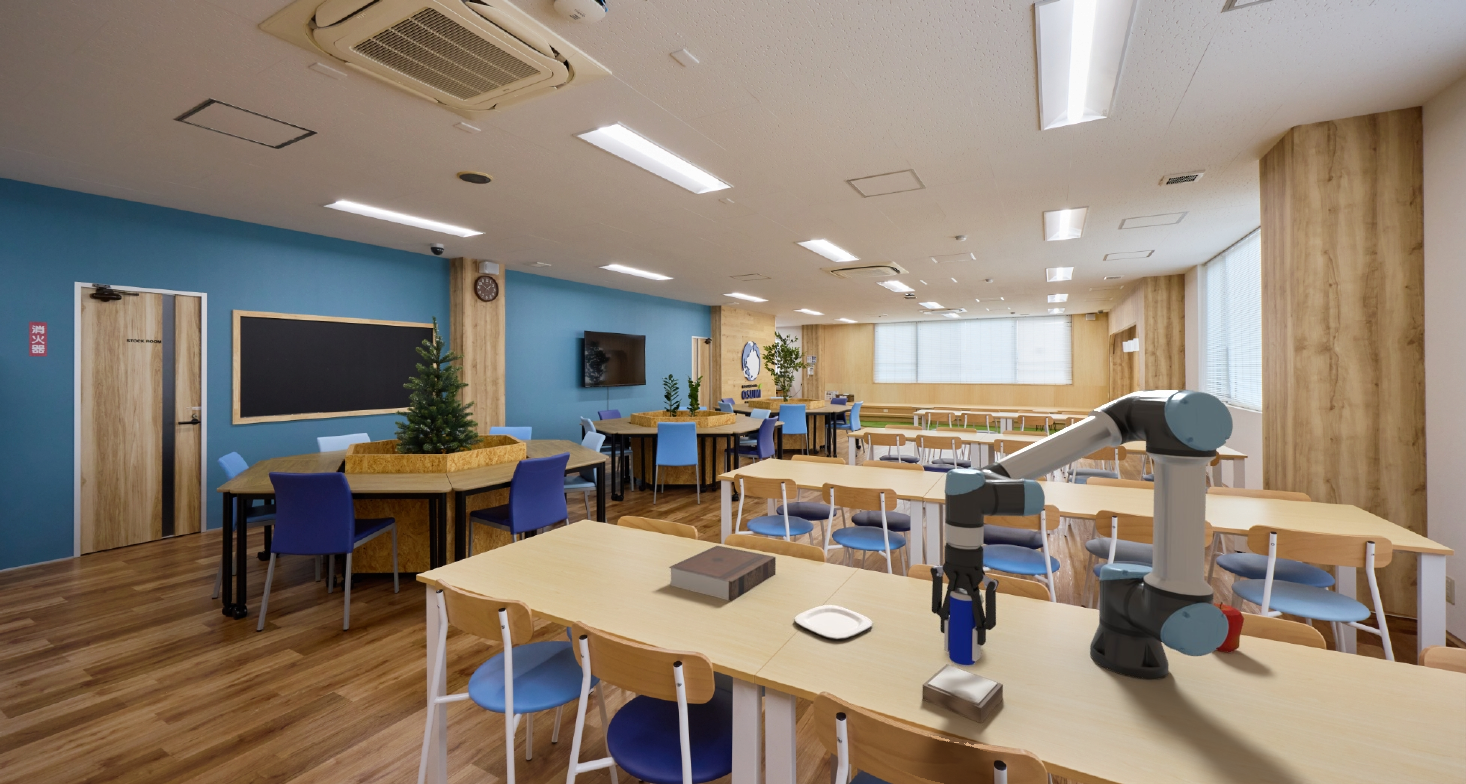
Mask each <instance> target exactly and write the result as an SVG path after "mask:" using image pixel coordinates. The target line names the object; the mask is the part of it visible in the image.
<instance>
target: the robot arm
mask: <svg viewBox="0 0 1466 784" xmlns="http://www.w3.org/2000/svg"><path fill="white" fill-rule="evenodd" d="M1233 429H1234V423H1233V418H1232V415H1231V411H1230V410H1229V408H1228V407H1227V405H1226V404H1225V403H1224V402H1223V401H1221V400H1220V399H1219V398H1218V397H1217V396H1215V395H1214V394H1213V395H1212V394H1210V393H1207V392H1203V391H1195V390H1188V389H1185V390H1183V389H1182V390H1167V389H1165V390H1164V389H1163V390H1162V389H1161V390H1160V389H1144V390H1142V389H1141V390H1137V391H1134V392H1131V393H1128V394H1125V395H1123V396H1121V397H1118V398H1116V399H1113V400H1112V401H1110V402H1107V403H1105V404H1103V405H1100V406H1099V407H1097V408H1094V409H1092V410H1091V411H1090V412H1088V415H1087V417H1086V418H1084V419H1082V420H1080V421H1078V422H1076V423H1073V424H1071V425H1069V426H1067V427H1065V428H1062V429H1061V430H1058V431H1057V432H1054V433H1052V434H1050V435H1049V436H1046V437H1045V438H1042V439H1040V440H1037V441H1036V442H1034V443H1032V444H1030V445H1028V446H1026V447H1023V448H1021V449H1019V450H1017V451H1015V452H1013V453H1011V454H1009V455H1006V456H1005V457H1002V458H1000V459H998V460H996V461H994V462H991V463H989V464H988V465H985V466H983V467H980V466H972V467H969V468H952V469H950V470H948V471H947V473H946V476H945V483H944V485H945V486H944V499H945V500H944V508H945V514H944V515H945V518H944V541H945V543H944V563H943V564H942V565H938V564H936V565H934V566H932V567H930V571H929V572H930V574H931V578H932V586H931V591H932V593H931V612H932V613H933V614H936V615H937V616H939V619H940V633H942V634H943V635H944V636H943V638H944V641H943V643H944V644H943V648H944V649H943V651H944V652H947V653H948V652H949V628H950V593H951V591H954V590H956V589H957V588H962V589H964V590H966V591H967V595H968V596H970V597H971V599H972V611H973V615H974V619H975V623H976V627H975V628H973V637H972V660H973V661H975V663H976V662H977V661H978V660H979V659H981V658H982V646H984V645H985V644H986V642H987V631H991V630H993V629H994V628H995V627H996V626H997V588H998V586H999V584H1000V582H999V580H998V579H997V578H994V579H992V578H991V577H988V576H987V575H986V572H985V570H984V547H983V546H982V545H984V536H985V535H984V533H985V532H984V529H985V527H984V525H985V517H1022V518H1025V517H1030V516H1031V517H1032V516H1038V515H1040V514H1042V512H1043V510H1044V508H1045V505H1046V502H1045V501H1046V500H1045V499H1046V498H1045V497H1046V496H1045V492H1044V489H1043V486H1042V485H1041V484H1040V483H1039V482H1038V481H1037V480H1039V479H1041V478H1042V477H1045V476H1046V475H1049V474H1051V473H1053V472H1055V471H1058V470H1060V469H1062V468H1064V467H1066V466H1068V465H1070V464H1072V463H1075V462H1076V461H1078V460H1081V459H1083V458H1086V457H1088V456H1090V455H1091V454H1093V453H1094V454H1095V452H1098V451H1100V450H1102V449H1104V448H1106V447H1108V448H1109V447H1110V448H1118V447H1120V446H1122V445H1124V444H1127V443H1132V442H1145V454H1147V456H1149V457H1150V458H1151V460H1153V465H1154V466H1153V468H1154V469H1153V472H1154V473H1153V513H1152V516H1153V519H1152V520H1153V523H1152V528H1153V529H1152V567H1151V566H1147V565H1141V564H1133V563H1122V562H1121V563H1106V564H1104V565H1102V567H1101V568H1100V571H1099V578H1098V581H1099V605H1098V607H1099V609H1098V610H1099V611H1098V612H1099V614H1098V615H1099V618H1098V620H1099V622H1098V626H1097V628H1096V631H1095V634H1094V636H1093V638H1092V640H1091V642H1090V645H1089V646H1090V648H1089V650H1090V651H1089V653H1090V654H1089V655H1090V657H1091V659H1092V660H1093V661H1094V662H1095V663H1096V664H1098V665H1100V666H1101V667H1103V668H1105V669H1106V670H1108V671H1112V672H1113V673H1114V672H1115V673H1117V674H1120V675H1123V676H1127V677H1131V678H1135V679H1141V680H1159V679H1163V678H1166V677H1167V676H1168V675H1169V660H1168V657H1167V655H1166V652H1165V649H1164V646H1166V647H1167V648H1169V649H1171V650H1175V651H1177V652H1178V653H1181V654H1182V655H1185V656H1189V657H1203V656H1207V655H1209V654H1211V653H1213V652H1215V651H1216V650H1215V649H1216V648H1217V647H1220V646H1221V645H1222V643H1223V642H1224V641H1225V639H1226V637H1227V634H1228V628H1229V625H1228V620H1227V618H1226V616H1225V614H1223V613H1222V611H1221V610H1220V609H1219V608H1218V607H1216V606H1215V605H1213V603H1214V593H1215V591H1214V587H1212V586H1211V585H1210V584H1209V583H1208V582H1207V581H1206V580H1205V562H1206V561H1205V558H1206V557H1205V555H1206V554H1205V553H1206V551H1205V549H1206V547H1205V546H1206V507H1207V506H1206V504H1207V503H1206V502H1207V466H1208V464H1209V463H1210V462H1212V461H1213V460H1215V459H1216V458H1217V449H1219V448H1221V447H1222V446H1224V445H1225V444H1227V441H1226V440H1229V439H1230V438H1231V436H1232V432H1233ZM944 575H945V576H946V578H947V579H948V583H947V586H946V593H945V595H944V599H943V588H944V587H943V585H944V584H943V583H944V580H943V579H944V578H943V576H944ZM981 583H983V585H984V586H983V588H984V589H985V594H984V595H985V596H984V597H985V600H984V602H985V608H984V606H983V603H982V602H981V598H980V594H979V593H980V586H979V585H980V584H981ZM984 610H985V611H984ZM1163 645H1164V646H1163Z"/></svg>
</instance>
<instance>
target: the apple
mask: <svg viewBox="0 0 1466 784" xmlns="http://www.w3.org/2000/svg"><path fill="white" fill-rule="evenodd" d="M1213 605H1215V606H1216V607H1218V608H1219V609H1220V610H1221V611H1222V613H1223V614H1225V616H1226V618H1227V620H1228V625H1229V628H1228V634H1227V637H1226V639H1225V641H1224V642H1223V643H1222V645H1221V646H1220V647H1217V648H1216V649H1215V651H1218V652H1222V653H1233V652H1234V651H1235V650H1238V649H1239V648H1240V641H1241V640H1240V639H1241V632H1242V629H1243V626H1244V622H1245V621H1244V620H1245V618H1244V616H1243V613H1242V612H1241V611H1240V610H1239V609H1238V608H1235V607H1233V606H1231V605H1226V604H1223V601H1220V603H1214V602H1213Z"/></svg>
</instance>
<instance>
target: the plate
mask: <svg viewBox="0 0 1466 784" xmlns="http://www.w3.org/2000/svg"><path fill="white" fill-rule="evenodd" d="M793 619H794V620H793V621H794V622H795V623H796V624H797V625H798V626H800V627H801V628H804V629H806V630H807V631H809V632H812V633H814V634H816V635H819V636H821V637H824V638H827V639H831V640H845V639H848V638H851V637H854V636H857V635H859V634H860V633H863V632H865V631H867V630H869V629H870V628H871V627H872V626H873V624H874V622H873V620H871V619H870V618H869V617H867V616H866V615H863V614H861V613H858V612H856V611H854V610H851V609H847V608H845V607H842V606H840V605H834V604H824V605H819V606H816V607H812V608H810V609H807V610H805V611H803V612H800V613H799V614H796V615H795V617H794V618H793Z"/></svg>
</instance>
